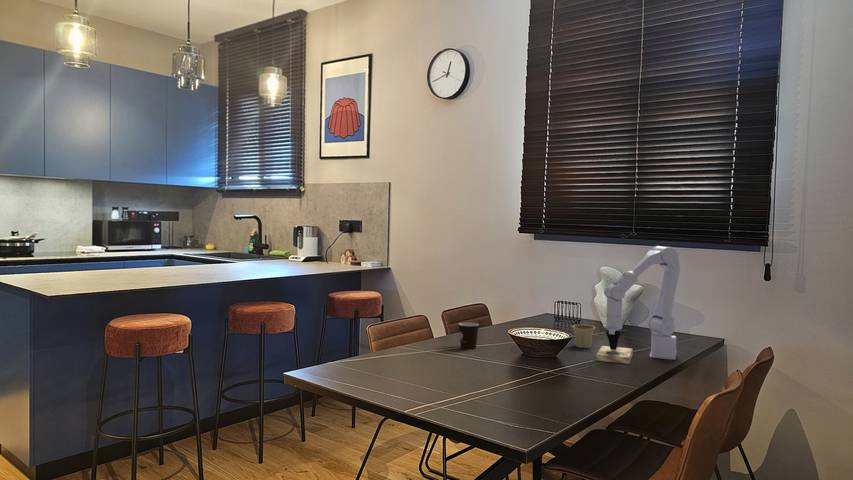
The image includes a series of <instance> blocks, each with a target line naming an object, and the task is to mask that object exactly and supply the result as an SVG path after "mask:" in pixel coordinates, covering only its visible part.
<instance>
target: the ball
mask: <svg viewBox="0 0 853 480" xmlns="http://www.w3.org/2000/svg"><path fill="white" fill-rule="evenodd" d="M609 354H613V355H618V354H619V353H618V352H617V351H615V350H613V351H611V352H610V353H609Z"/></svg>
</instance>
